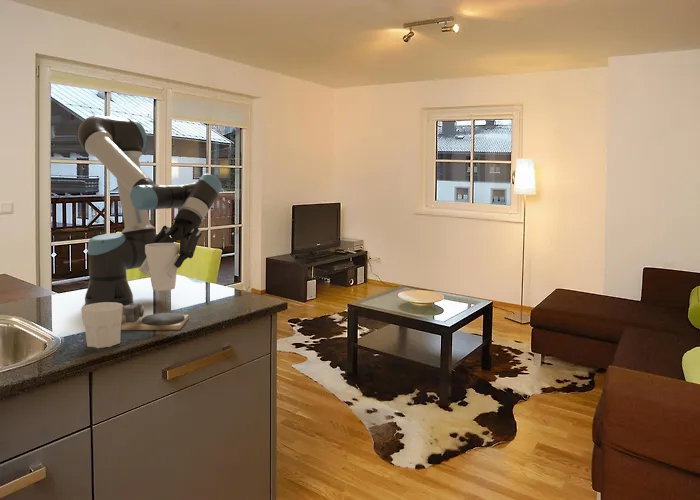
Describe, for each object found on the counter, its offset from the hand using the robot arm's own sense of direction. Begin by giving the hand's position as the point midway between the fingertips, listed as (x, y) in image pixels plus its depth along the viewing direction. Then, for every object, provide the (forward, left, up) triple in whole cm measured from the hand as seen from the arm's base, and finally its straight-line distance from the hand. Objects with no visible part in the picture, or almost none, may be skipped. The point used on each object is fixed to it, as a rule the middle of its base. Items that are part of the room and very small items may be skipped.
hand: (155, 273), depth 158 cm
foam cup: (+2, +3, -5) cm, 6 cm away
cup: (-10, -15, -16) cm, 24 cm away
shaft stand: (-4, +3, -16) cm, 17 cm away
